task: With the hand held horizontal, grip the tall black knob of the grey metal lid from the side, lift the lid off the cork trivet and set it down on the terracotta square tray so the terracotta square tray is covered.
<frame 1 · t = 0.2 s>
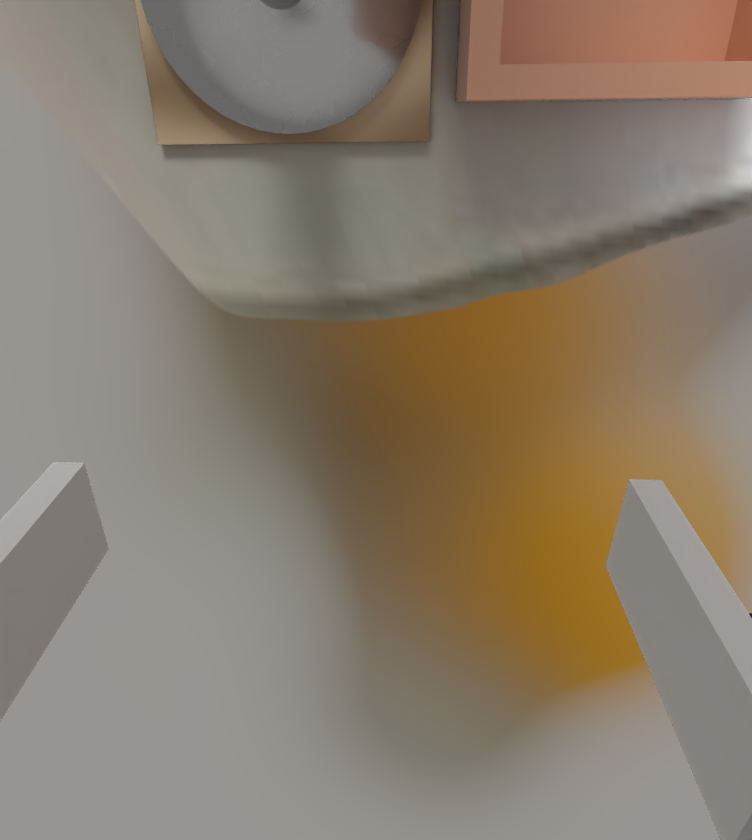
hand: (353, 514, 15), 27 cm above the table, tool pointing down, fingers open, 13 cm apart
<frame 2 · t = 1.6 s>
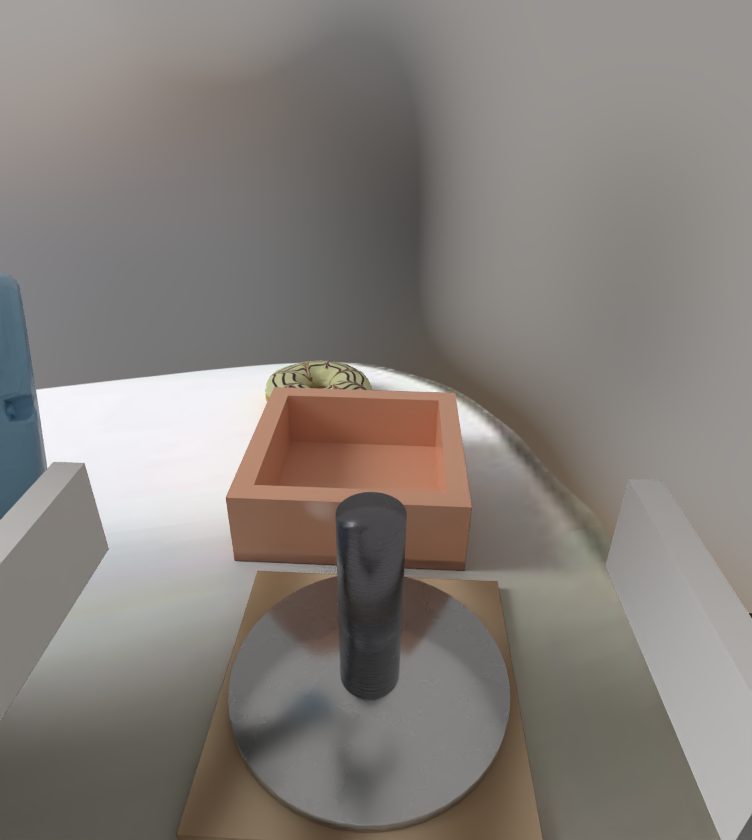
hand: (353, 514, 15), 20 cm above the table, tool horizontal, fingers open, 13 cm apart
terracotta square tray: (357, 495, 48), on the table
decorated donut: (319, 411, 61), on the table
trivet: (369, 689, 33), on the table
lid: (369, 682, 32), point 1 cm above the table, touching trivet
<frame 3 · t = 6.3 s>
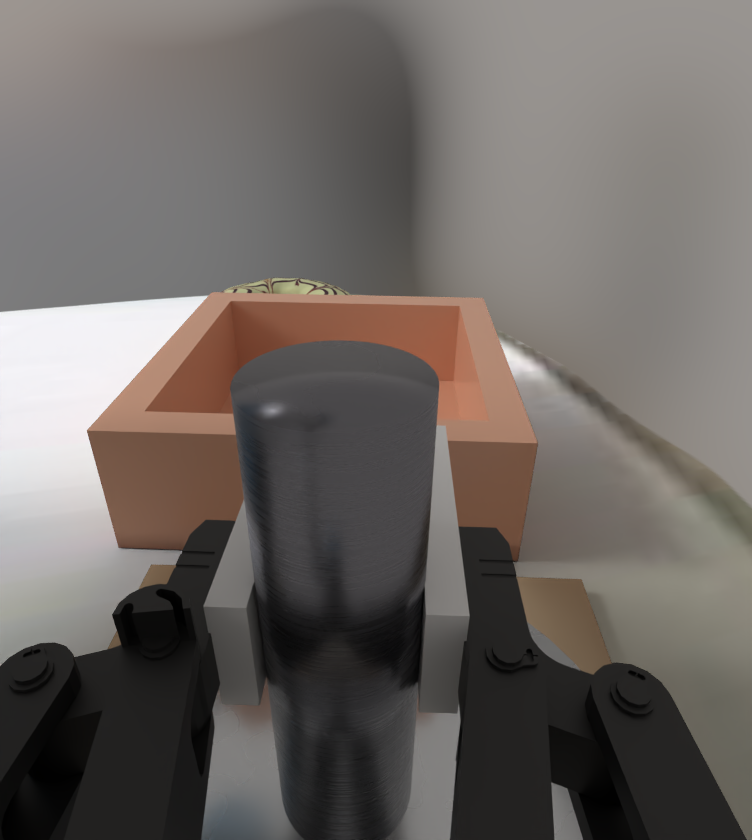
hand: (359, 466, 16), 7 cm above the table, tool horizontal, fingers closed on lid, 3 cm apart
terracotta square tray: (335, 447, 31), on the table
decorated donut: (287, 344, 43), on the table
trivet: (347, 811, 15), on the table
lid: (347, 798, 15), point 1 cm above the table, touching gripper, trivet
when the fingers open (14 cm above the table, at t = 9.9 s): lid drops 2 cm, resting on terracotta square tray.
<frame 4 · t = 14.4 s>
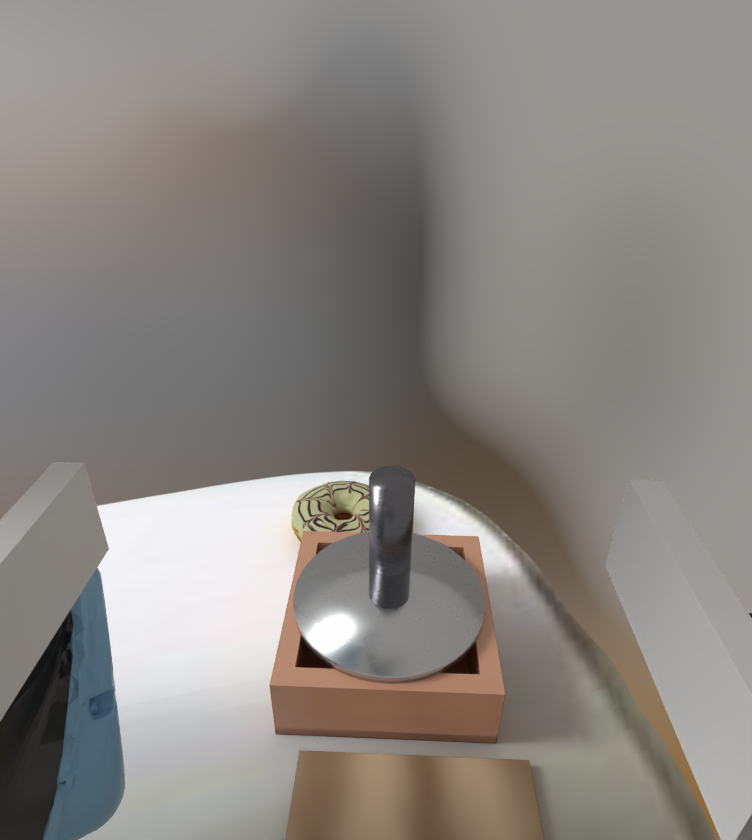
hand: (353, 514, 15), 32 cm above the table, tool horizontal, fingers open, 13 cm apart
terracotta square tray: (387, 647, 50), on the table
decorated donut: (343, 534, 63), on the table
lid: (388, 600, 47), point 5 cm above the table, touching terracotta square tray
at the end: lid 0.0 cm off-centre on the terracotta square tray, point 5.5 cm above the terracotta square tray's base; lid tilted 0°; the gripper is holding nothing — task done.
